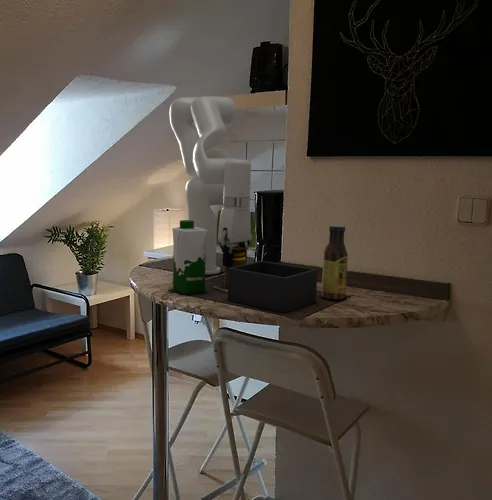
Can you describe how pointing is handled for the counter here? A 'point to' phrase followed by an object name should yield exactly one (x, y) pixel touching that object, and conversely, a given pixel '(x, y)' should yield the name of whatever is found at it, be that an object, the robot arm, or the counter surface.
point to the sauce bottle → (335, 265)
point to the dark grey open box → (272, 285)
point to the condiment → (234, 265)
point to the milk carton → (189, 258)
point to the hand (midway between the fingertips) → (234, 264)
